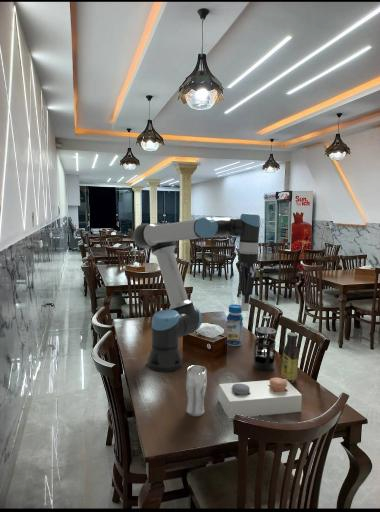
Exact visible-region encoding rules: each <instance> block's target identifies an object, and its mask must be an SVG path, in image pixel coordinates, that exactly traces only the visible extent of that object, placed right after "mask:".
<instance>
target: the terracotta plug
mask: <svg viewBox="0 0 380 512" xmlns="http://www.w3.org/2000/svg"><path fill="white" fill-rule="evenodd" d="M269 380H270V385H271V386H272V390H273V391H274V392H284V388H286V387H287V381H286V380H284V379H282V378H281V377H271V378H270V379H269Z"/></svg>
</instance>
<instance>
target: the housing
mask: <svg viewBox="0 0 380 512" xmlns="http://www.w3.org/2000/svg"><path fill="white" fill-rule="evenodd" d="M284 380H286V379H284ZM286 381H287V380H286ZM234 384H245V385H247V386H249V388H250V392H249V393H248V394H247V395H238V396H236V395H235V393H234V392H233V391H232V386H233V385H234ZM217 399H218V401H219V404H220V406H221V407H222V408H223V410H224V412H225V414H226V416H227V418H228V419H234V418H233V417H234V415H235V414H239V415H243V416H248V417H247V418H250V417H251V418H252V417H259V415H261V416H270V415H280V414H290V413H291V414H292V413H299V412H302V400H303V395H302V393H301V392H299V391H298V390H297V388H295V387H294V386H293V384H292V383H289V382H288V381H287V387H286V388H284V392H274V391H273V390H272V386H271V385H270V379H268V380H257V381H256V380H255V381H243V382H229V383H228V382H227V383H219V384H218V398H217Z"/></svg>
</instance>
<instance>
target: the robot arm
mask: <svg viewBox="0 0 380 512" xmlns="http://www.w3.org/2000/svg"><path fill="white" fill-rule="evenodd" d="M260 217H261V216H260V214H258V213H244V212H243V213H241V215H240V217H227V216H218V217H209V216H204V217H200V218H198V219H191V220H190V219H189V220H184V221H183V220H182V221H178V222H170V223H169V222H168V223H164V222H159V223H157V222H156V223H141V224H139V225H137V226H136V227H135V228H134V229H133V230H134V231H133V234H132V237H133V242H134V243H135V245H137V246H138V247H139V248H141V249H146V250H147V249H148V250H149V249H150V252H151V254H152V256H155V257H156V259H157V264H158V267H159V270H160V273H161V276H162V280H163V283H164V287H165V291H166V293H167V297H168V300H169V304H170V306H169V308H168V309H162V310H158V311H157V312H155V313H154V314H153V315H152V317H151V318H152V321H151V348H150V351H149V354H148V357H147V361H146V366H147V367H148V368H149V369H150V370H151V371H155V372H161V373H169V372H175V371H177V370H179V369H180V368H181V367H182V364H183V361H182V360H183V359H182V356H181V353H180V349H179V339H180V338H183V337H185V336H187V335H190V334H193V333H195V332H196V331H198V330H199V329H200V328H201V325H202V322H203V317H202V316H203V315H202V313H201V311H200V309H199V308H198V307H197V306H194V303H193V301H192V300H190V299H189V297H188V295H187V294H188V293H187V290H186V288H185V287H186V286H185V284H184V281H183V277H182V274H181V271H180V267H179V266H178V264H179V263H178V262H177V258H176V253H175V250H176V243H177V241H185V240H196V239H206V238H215V237H235V238H236V237H238V238H239V241H238V252H239V253H238V258H237V260H238V263H241V267H239V268H238V271H239V291H240V292H241V293H240V294H241V303H240V305H241V310H242V312H247V311H248V312H249V310H250V309H249V307H250V296H252V295H253V292H254V291H253V290H254V284H255V281H256V280H255V279H256V276H257V273H256V272H254V271H255V269H254V265H255V264H257V263H258V255H259V254H258V252H259V247H260V244H259V238H260V227H261V218H260Z"/></svg>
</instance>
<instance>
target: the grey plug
mask: <svg viewBox="0 0 380 512" xmlns="http://www.w3.org/2000/svg"><path fill="white" fill-rule="evenodd" d="M232 391H233V392H234V393H235V395H236V396H238V395H247V394H248V393H249V392H250V388H249V386H247V385H245V384H234V385H233V386H232Z"/></svg>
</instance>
